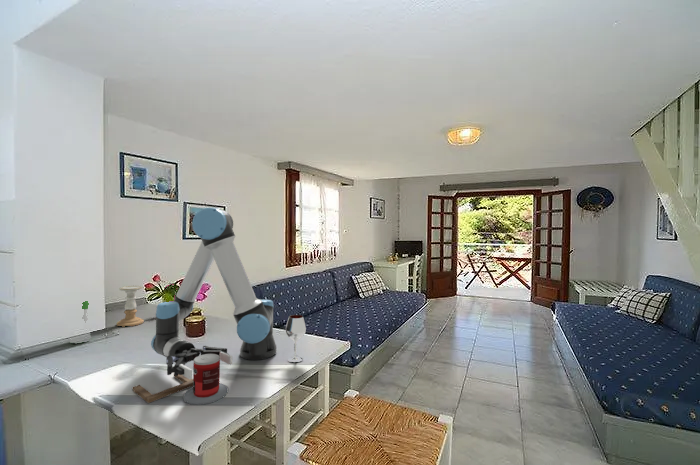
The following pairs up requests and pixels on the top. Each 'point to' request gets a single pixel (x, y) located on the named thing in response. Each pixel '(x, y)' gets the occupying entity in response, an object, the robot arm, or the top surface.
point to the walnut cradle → (152, 397)
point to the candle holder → (130, 307)
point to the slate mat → (195, 400)
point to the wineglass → (295, 330)
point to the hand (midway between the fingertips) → (212, 367)
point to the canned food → (206, 375)
